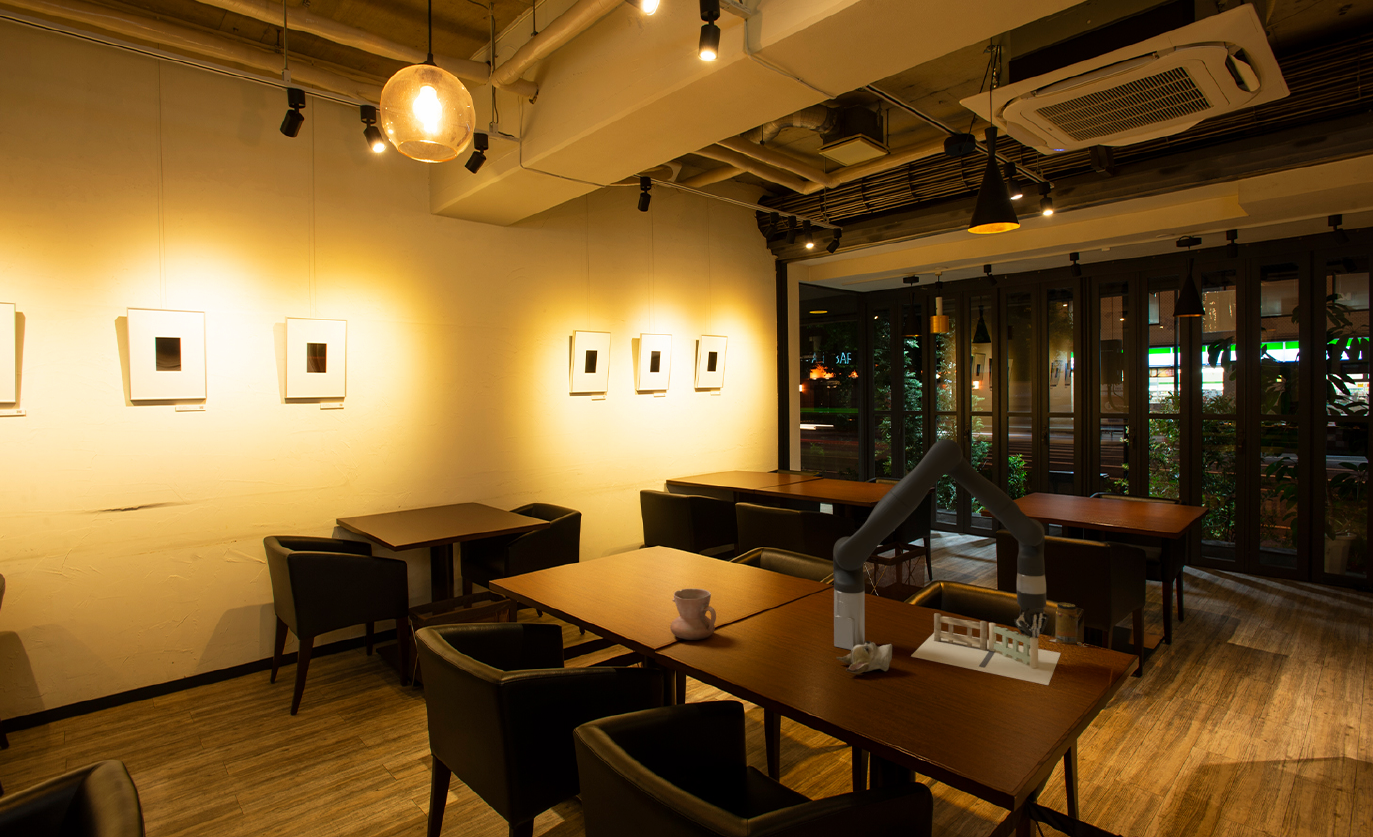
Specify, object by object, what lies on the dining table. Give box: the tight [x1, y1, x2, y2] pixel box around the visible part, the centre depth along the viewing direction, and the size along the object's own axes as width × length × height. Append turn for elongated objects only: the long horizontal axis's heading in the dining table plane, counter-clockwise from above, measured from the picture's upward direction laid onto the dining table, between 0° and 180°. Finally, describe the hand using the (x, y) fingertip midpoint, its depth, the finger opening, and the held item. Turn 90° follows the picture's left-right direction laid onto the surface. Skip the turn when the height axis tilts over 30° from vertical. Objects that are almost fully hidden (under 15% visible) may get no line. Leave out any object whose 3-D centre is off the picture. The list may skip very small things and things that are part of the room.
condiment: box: [1048, 602, 1088, 648], centre depth 207 cm, size 7×8×12 cm
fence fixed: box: [933, 612, 988, 651], centre depth 205 cm, size 16×2×8 cm, turn 55°
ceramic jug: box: [669, 588, 717, 641], centre depth 215 cm, size 18×14×14 cm
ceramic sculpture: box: [835, 640, 893, 675], centre depth 187 cm, size 11×9×15 cm
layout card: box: [910, 630, 1061, 686], centre depth 197 cm, size 28×36×1 cm
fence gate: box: [988, 622, 1039, 668], centre depth 193 cm, size 16×2×8 cm, turn 25°
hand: (1032, 648), depth 191 cm, fingers closed
